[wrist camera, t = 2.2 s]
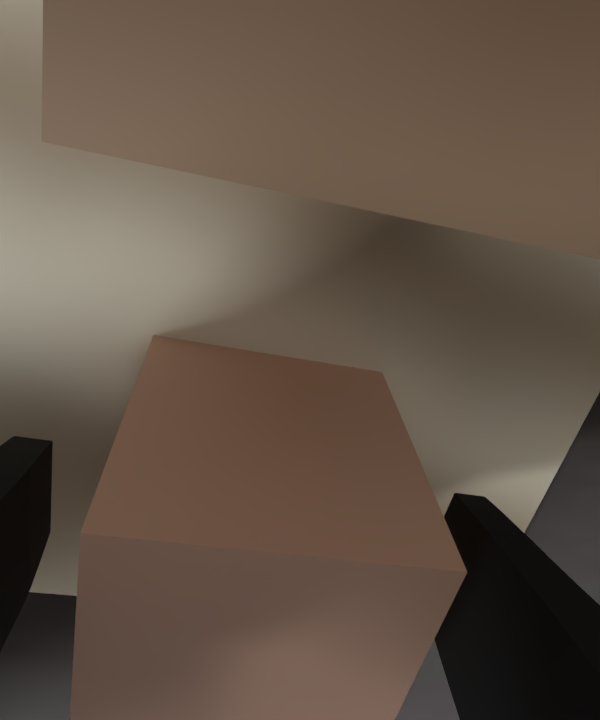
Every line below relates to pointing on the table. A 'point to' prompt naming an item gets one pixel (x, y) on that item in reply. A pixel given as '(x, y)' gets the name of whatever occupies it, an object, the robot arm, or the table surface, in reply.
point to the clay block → (258, 546)
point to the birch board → (269, 310)
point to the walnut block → (348, 103)
